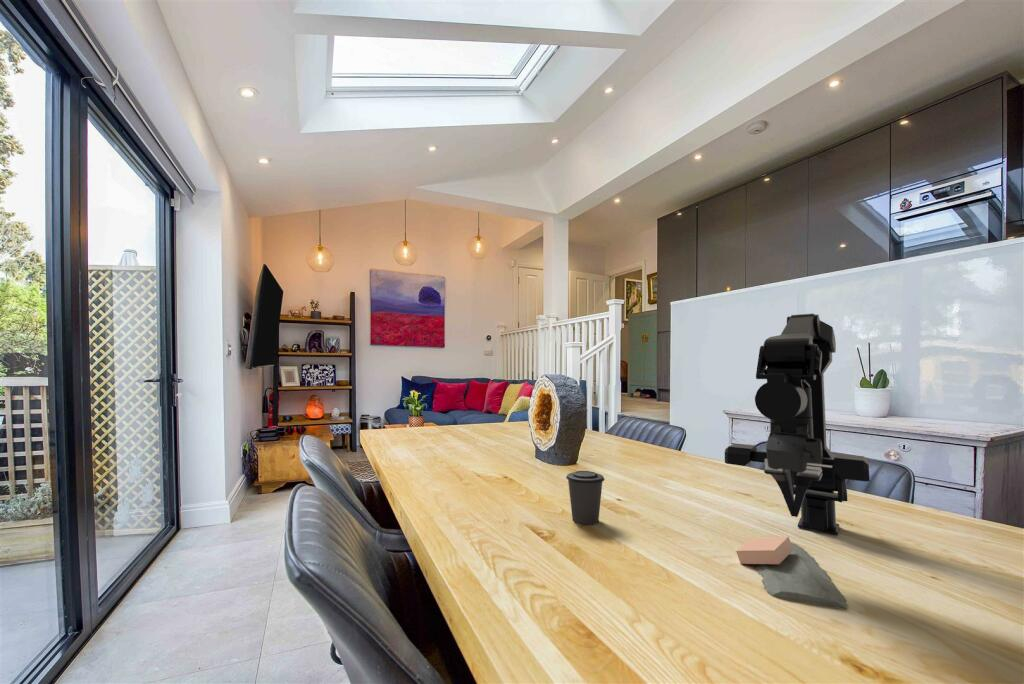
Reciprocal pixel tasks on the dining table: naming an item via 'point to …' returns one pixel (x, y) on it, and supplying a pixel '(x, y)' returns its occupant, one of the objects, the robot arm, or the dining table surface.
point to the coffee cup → (585, 496)
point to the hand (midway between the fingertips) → (794, 516)
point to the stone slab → (800, 580)
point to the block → (765, 550)
